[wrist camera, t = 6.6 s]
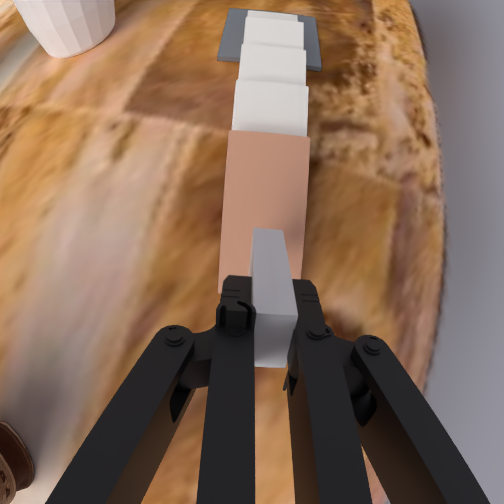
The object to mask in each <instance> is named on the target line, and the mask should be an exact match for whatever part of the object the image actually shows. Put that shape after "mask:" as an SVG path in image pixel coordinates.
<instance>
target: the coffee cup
mask: <svg viewBox="0 0 504 504" xmlns="http://www.w3.org/2000/svg"><path fill="white" fill-rule="evenodd" d="M33 471H34V470H33V464H32V461H31V458H30V456H29V453H28V451H27V449H26V447H25V446H24V444H23V442H22V441H21V439H20V437H19V436H18V434H16V433H15V432H14V430H13V429H12V428H11V427H10V425H8V424H7V423H5V422H1V421H0V504H9V503H11V501H12V500H13V498H14V496H15V494H16V491H19V490H22V489H25V488H28V487H29V486H30V485H31V483H32V481H33Z"/></svg>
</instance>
